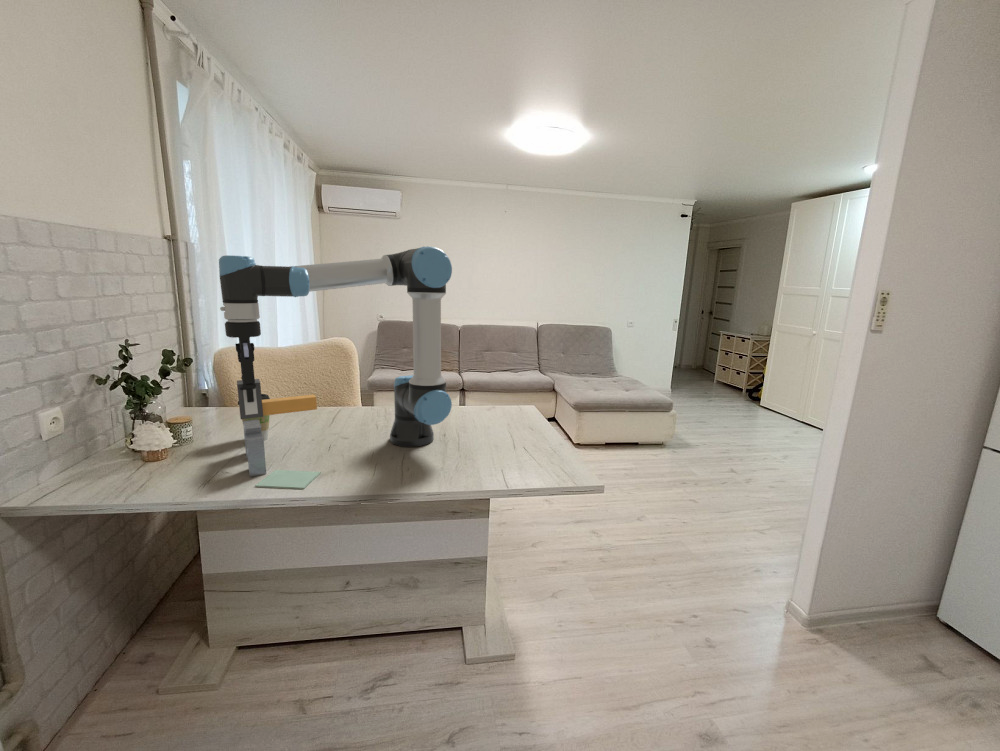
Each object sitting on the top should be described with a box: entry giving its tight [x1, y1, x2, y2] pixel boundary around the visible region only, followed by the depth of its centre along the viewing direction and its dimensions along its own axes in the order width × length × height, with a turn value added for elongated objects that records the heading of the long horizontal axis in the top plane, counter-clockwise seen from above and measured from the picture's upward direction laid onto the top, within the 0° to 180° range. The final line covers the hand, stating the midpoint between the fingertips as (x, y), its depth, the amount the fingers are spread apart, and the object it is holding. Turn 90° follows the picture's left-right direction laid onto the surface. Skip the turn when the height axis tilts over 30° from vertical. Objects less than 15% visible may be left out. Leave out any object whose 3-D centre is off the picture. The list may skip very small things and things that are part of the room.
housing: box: [242, 419, 267, 478], centre depth 127 cm, size 4×20×12 cm, turn 33°
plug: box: [236, 378, 318, 420], centre depth 113 cm, size 18×5×9 cm, turn 122°
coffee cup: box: [237, 393, 271, 441], centre depth 146 cm, size 10×10×15 cm
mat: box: [254, 469, 321, 490], centre depth 118 cm, size 13×10×1 cm
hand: (251, 410), depth 111 cm, fingers closed on plug, 5 cm apart
